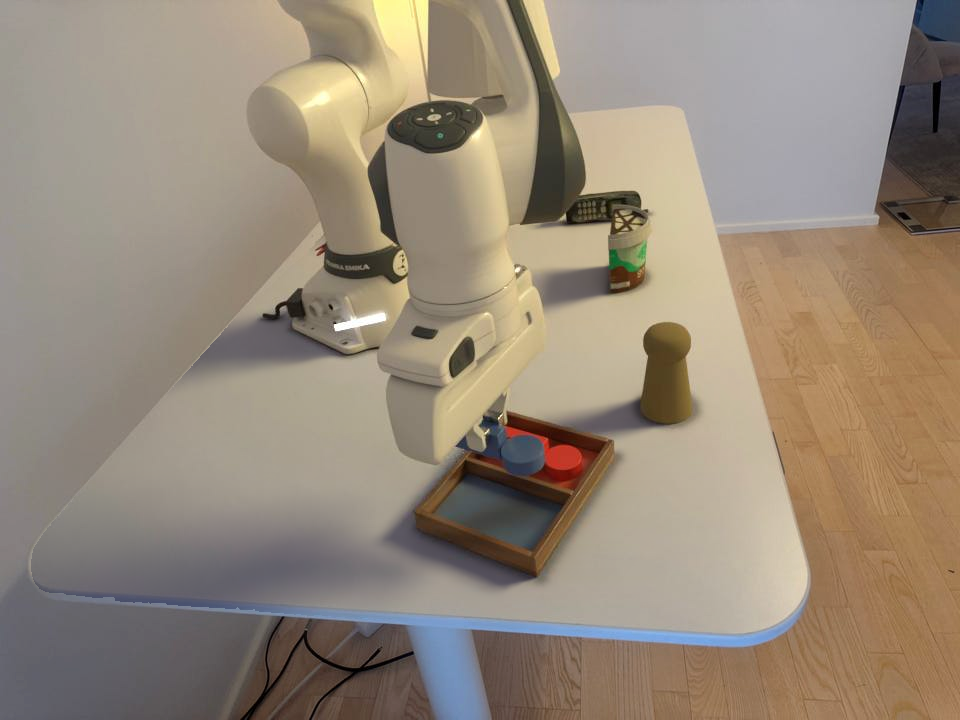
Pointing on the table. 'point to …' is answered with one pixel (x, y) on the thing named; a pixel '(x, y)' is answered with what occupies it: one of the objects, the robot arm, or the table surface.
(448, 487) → the sorting tray
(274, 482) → the table surface
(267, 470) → the table surface
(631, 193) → the mobile phone
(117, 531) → the table surface
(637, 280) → the food container
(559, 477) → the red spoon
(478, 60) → the table lamp
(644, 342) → the brown game pawn
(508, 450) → the blue block with disc
